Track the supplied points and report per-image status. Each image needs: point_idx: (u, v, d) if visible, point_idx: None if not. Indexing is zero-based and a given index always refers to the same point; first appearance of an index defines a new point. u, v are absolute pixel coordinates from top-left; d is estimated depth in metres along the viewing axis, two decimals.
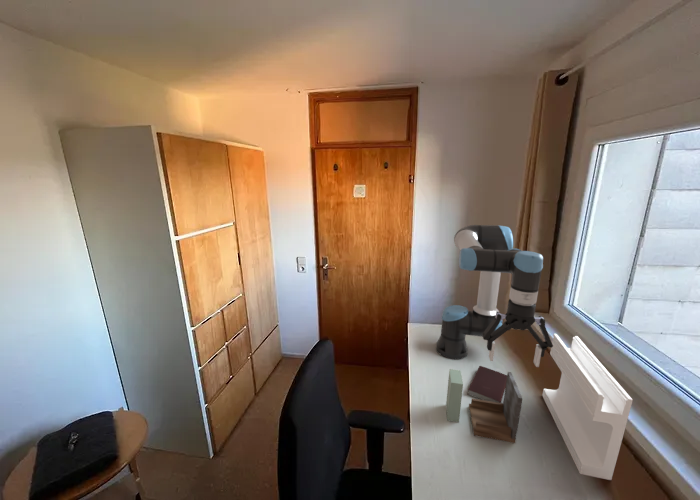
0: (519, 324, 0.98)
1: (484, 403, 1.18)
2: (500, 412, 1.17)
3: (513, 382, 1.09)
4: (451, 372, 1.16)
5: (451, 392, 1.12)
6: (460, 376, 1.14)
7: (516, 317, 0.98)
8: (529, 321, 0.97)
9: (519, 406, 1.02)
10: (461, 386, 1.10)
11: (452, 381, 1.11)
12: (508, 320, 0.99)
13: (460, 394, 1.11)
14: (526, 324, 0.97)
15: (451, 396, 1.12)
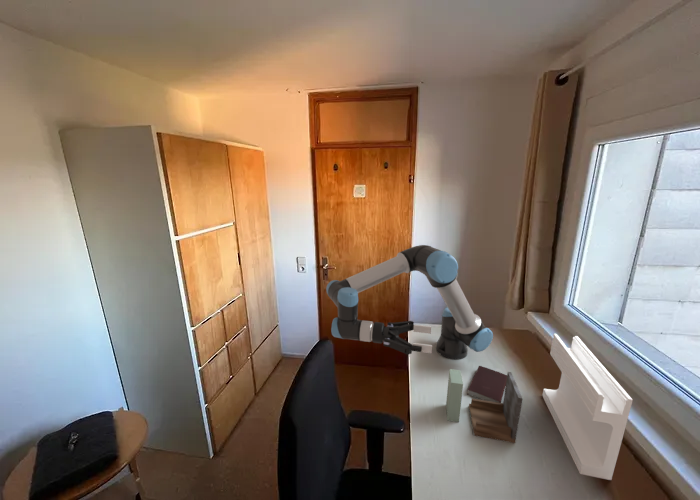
0: None
1: (484, 403, 1.18)
2: (500, 412, 1.17)
3: (513, 382, 1.09)
4: (451, 372, 1.16)
5: (451, 392, 1.12)
6: (460, 376, 1.14)
7: None
8: None
9: (519, 406, 1.02)
10: (461, 386, 1.10)
11: (452, 381, 1.11)
12: None
13: (460, 394, 1.11)
14: None
15: (451, 396, 1.12)
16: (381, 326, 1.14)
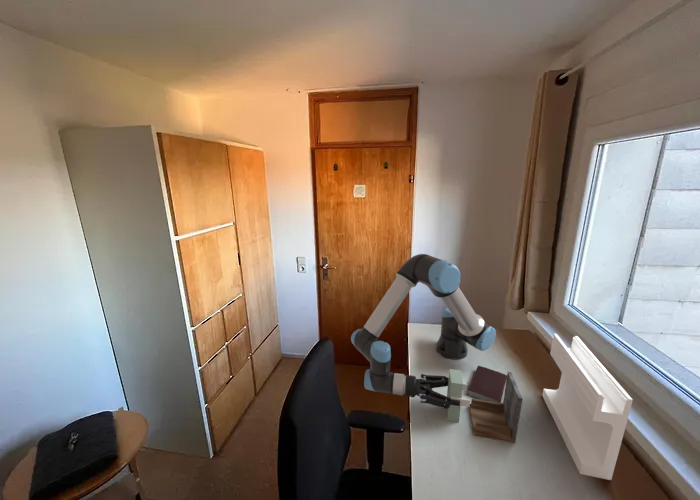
0: None
1: (484, 403, 1.18)
2: (500, 412, 1.17)
3: (513, 382, 1.09)
4: (451, 372, 1.16)
5: (451, 392, 1.12)
6: (460, 376, 1.14)
7: None
8: None
9: (519, 406, 1.02)
10: (461, 386, 1.10)
11: (452, 381, 1.11)
12: None
13: (460, 394, 1.11)
14: None
15: None
16: (414, 381, 1.17)
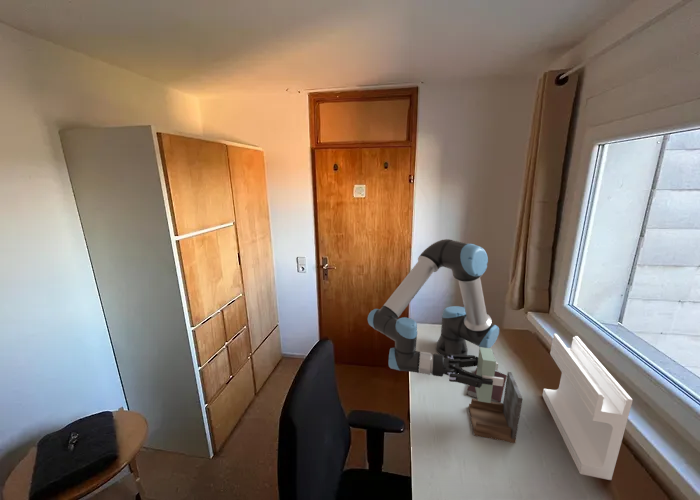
0: None
1: (484, 403, 1.18)
2: (500, 412, 1.17)
3: (513, 382, 1.09)
4: (482, 350, 1.09)
5: (483, 370, 1.05)
6: (492, 354, 1.07)
7: None
8: None
9: (519, 406, 1.02)
10: (494, 364, 1.03)
11: (484, 359, 1.04)
12: None
13: (492, 372, 1.04)
14: None
15: None
16: (442, 359, 1.10)
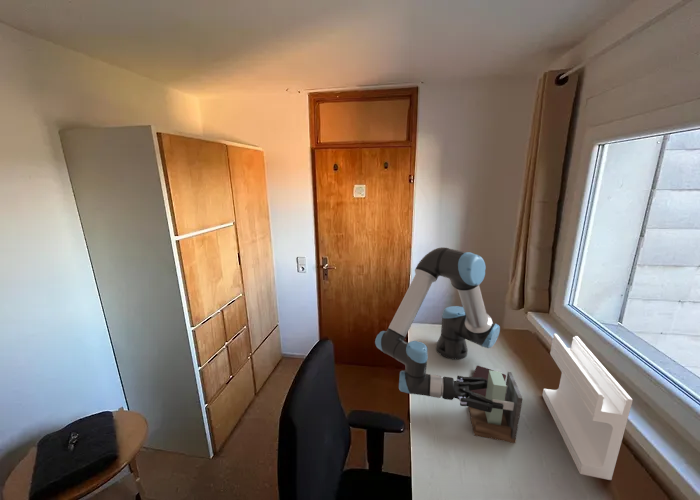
0: None
1: None
2: None
3: (513, 382, 1.09)
4: (491, 374, 1.11)
5: (493, 395, 1.06)
6: (502, 378, 1.09)
7: None
8: None
9: (519, 406, 1.02)
10: (504, 388, 1.05)
11: (495, 383, 1.06)
12: None
13: (503, 397, 1.06)
14: None
15: None
16: (452, 383, 1.11)
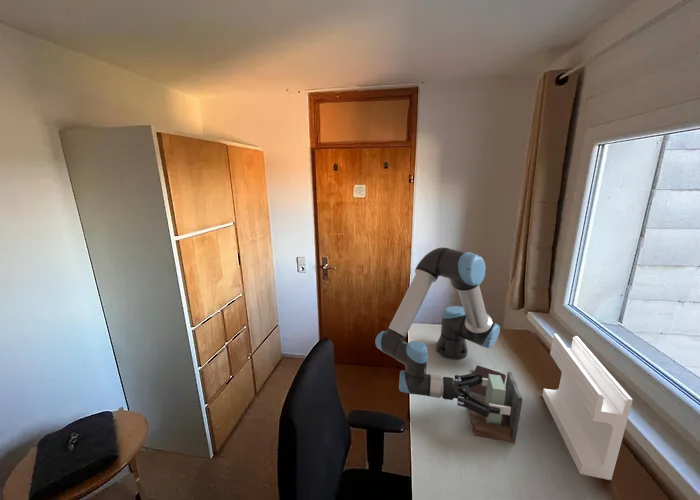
0: None
1: None
2: None
3: (513, 382, 1.09)
4: (491, 377, 1.11)
5: (493, 398, 1.07)
6: (501, 381, 1.09)
7: None
8: None
9: (519, 406, 1.02)
10: (504, 392, 1.05)
11: (494, 387, 1.06)
12: None
13: (502, 400, 1.06)
14: None
15: (492, 403, 1.07)
16: (452, 383, 1.11)
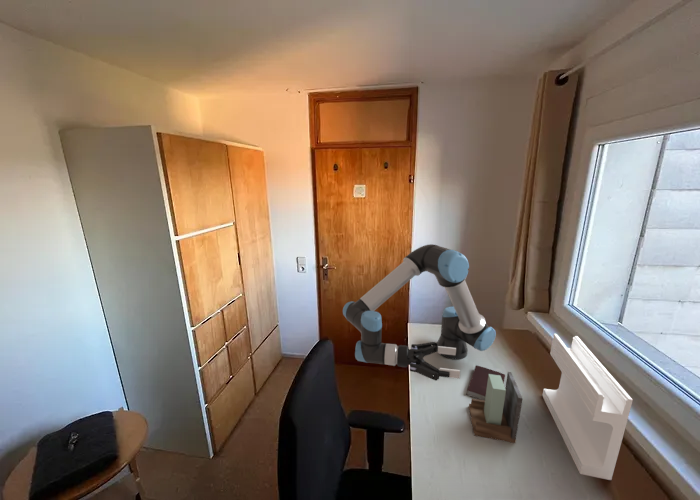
0: None
1: (484, 403, 1.18)
2: None
3: (513, 382, 1.09)
4: (491, 377, 1.11)
5: (493, 398, 1.07)
6: (501, 381, 1.09)
7: None
8: None
9: (519, 406, 1.02)
10: (504, 392, 1.05)
11: (494, 387, 1.06)
12: None
13: (502, 400, 1.06)
14: None
15: (492, 403, 1.07)
16: (406, 350, 1.13)
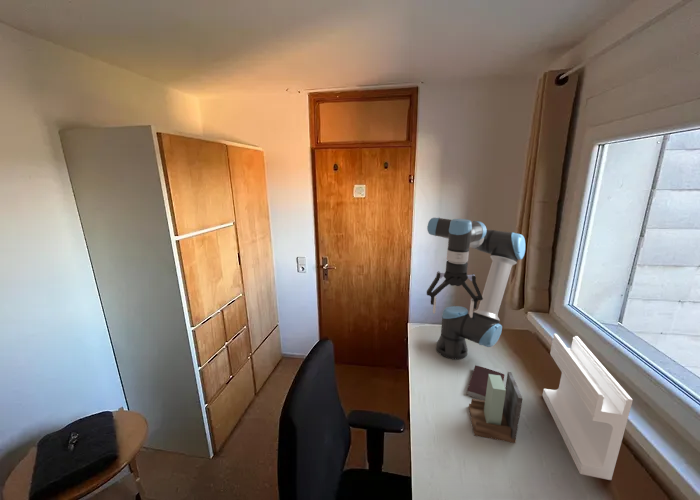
0: (455, 281, 1.17)
1: (484, 403, 1.18)
2: None
3: (513, 382, 1.09)
4: (491, 377, 1.11)
5: (493, 398, 1.07)
6: (501, 381, 1.09)
7: (452, 275, 1.17)
8: (463, 278, 1.16)
9: (519, 406, 1.02)
10: (504, 392, 1.05)
11: (494, 387, 1.06)
12: (446, 277, 1.17)
13: (502, 400, 1.06)
14: (460, 280, 1.16)
15: (492, 403, 1.07)
16: None
